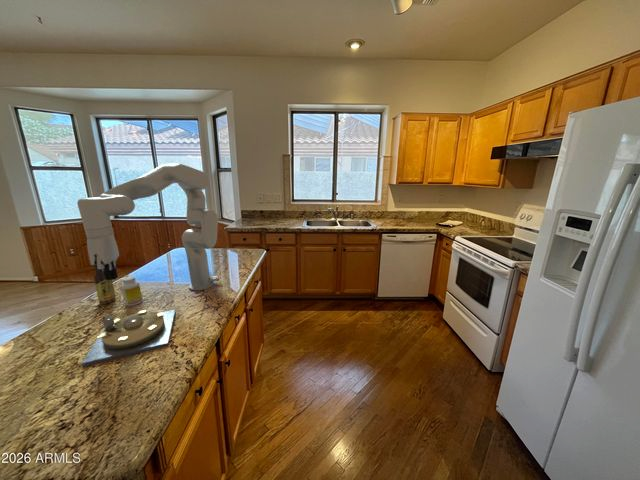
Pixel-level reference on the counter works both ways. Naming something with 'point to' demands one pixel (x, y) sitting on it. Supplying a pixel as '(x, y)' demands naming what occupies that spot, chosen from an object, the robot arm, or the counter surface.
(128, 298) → the supplement bottle
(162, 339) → the cap plate
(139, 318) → the notched gold disc
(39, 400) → the counter surface
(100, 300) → the sauce bottle
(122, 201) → the robot arm
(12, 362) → the counter surface
